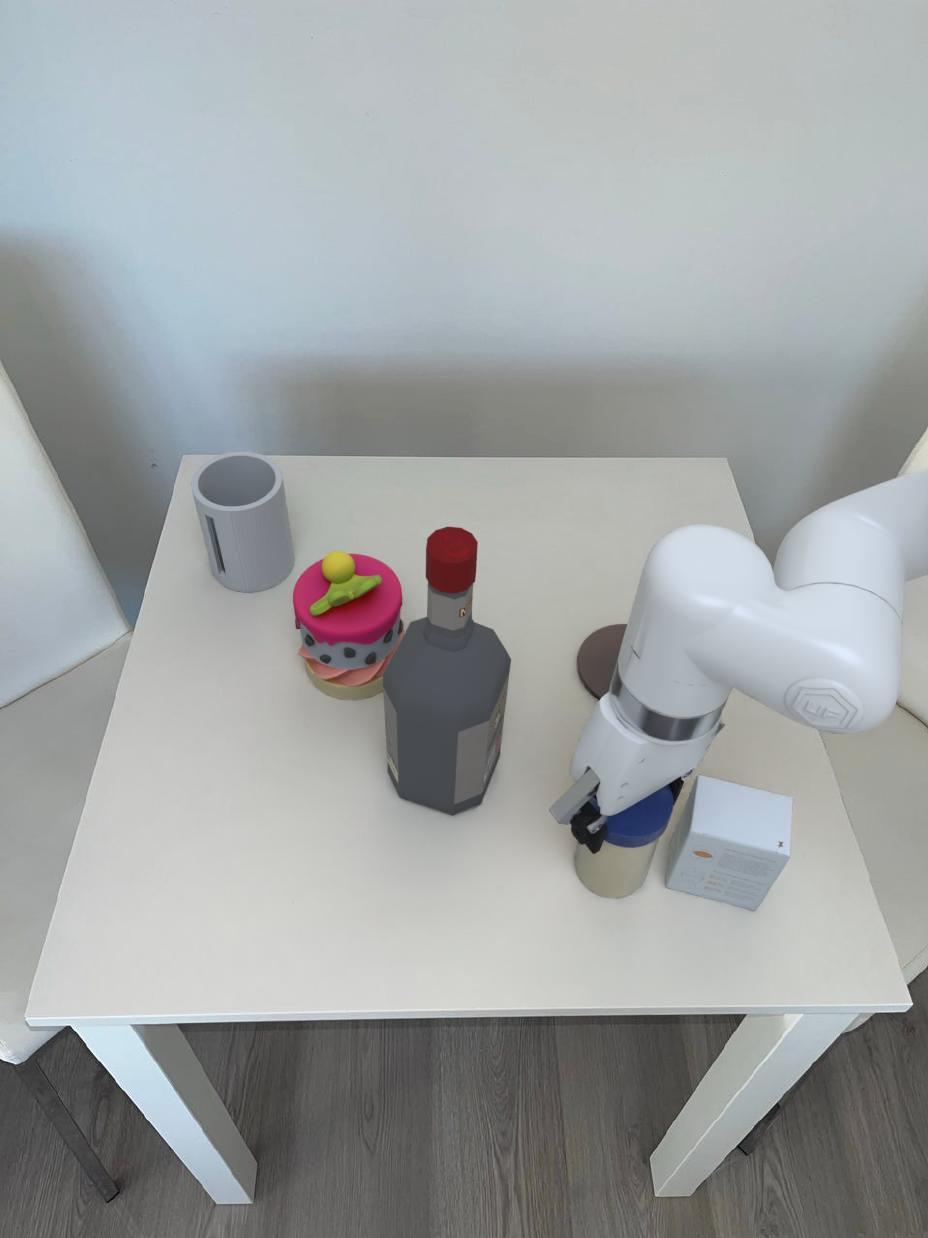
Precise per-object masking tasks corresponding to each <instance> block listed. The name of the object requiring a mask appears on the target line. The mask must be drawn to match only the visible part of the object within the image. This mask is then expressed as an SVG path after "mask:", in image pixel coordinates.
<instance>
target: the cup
mask: <svg viewBox="0 0 928 1238" xmlns="http://www.w3.org/2000/svg"><path fill="white" fill-rule="evenodd" d="M190 488H191V493H192V496H193V500H194V505H195V508H196V512H197V517H198V521H199V524H200V528H201V533H202V537H203V540H204V541H203V542H204V545H205V549H206V553H207V557H208V561H209V566H210V569H211V573H212V576H213V577H214V579H215V580H216V581H217V582H218V583H219V584H220V585H221V586H223V587H225V588H227V589H229V590H232V591H235V592H240V593H258V592H263V591H266V590H270V589H271V588H274V587H276V586H278V585H280V584H281V583H282V582H283V581H285V580H286V579H287V578H288V576H289V575H290V574H291V572H292V570H293V568H294V565H295V559H296V558H295V553H294V552H295V551H294V546H293V545H294V544H293V540H292V539H293V538H292V532H291V526H290V518H289V512H288V506H287V498H286V497H287V496H286V492H285V491H286V490H285V485H284V477H283V472H282V469H281V468H280V466H279V465H278V463H276V462H275V461H274V460H273V459H272V458H270V457H268V456H266V455H264V454H260V453H258V452H253V451H244V450H243V451H238V450H237V451H231V452H226V453H222V454H219V455H216V456H214V457H212V458H209V459H207V460H206V461H204V463H202V464H201V465H200V466H199V467H198V468H197V469H196V471H195V472H194V473H193V476H192V478H191V482H190ZM220 557H221V558H222V562H223V567H224V570H225V571H224V570H223V568H222V564H221V560H220Z"/></svg>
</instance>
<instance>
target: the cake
mask: <svg viewBox="0 0 928 1238" xmlns="http://www.w3.org/2000/svg"><path fill="white" fill-rule="evenodd" d="M292 603H293V610H294V617H295V619H294V625H295V629H296V630H299V631H300V637H301V642H302V645H301V646H300V648H299V649H298V653H297V655H298V656H300V657H301V658H303V659H304V663H305V669H306V674H307V677H308V678H309V680H310V682H311V683H312V685H313V686H314V687H315V688H316V689H317V690H319V691H320V692H322V693H323V694H325V696H329V697H330V698H331V697H332V698H335V699H338V700H344V701H359V700H364V699H369V698H372V697H374V696H376V695H379V694H381V693H384V688H383V674H384V672H385V670H386V668H387V666H388V664H389V662H390V660H391V659H392V657H393V655H394V653H395V651H396V649H397V647H398V645H399V643H400V641H401V640H402V638H403V636H404V634H405V623H404V621H403V619H402V617H401V610H402V607H403V588H402V584H401V581H400V579H399V577H398V576H397V574H396V573H395V571H394V570H393V569H392V568H391V567H390V566H388V565H387V564H386V563H384V562H383V561H381V560H379V559H378V558H375V557H372V556H370V555H365V554H361V553H348V552H346V551H344V550H333V551H330V552H329V553H327V554H326V556H324V557H323V558H321V559H320V560H317V561H316V562H314V563H312V564H311V565H310V566H309V567H307V568H306V569H305V570H304V571H303V572H302V574H301V575H300V576H299V577H298V579H297V581H296V582H295V585H294V588H293V591H292Z"/></svg>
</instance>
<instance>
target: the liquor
mask: <svg viewBox="0 0 928 1238" xmlns="http://www.w3.org/2000/svg"><path fill="white" fill-rule="evenodd" d="M426 540H427V541H426V546H425V578H426V581H427V597H426V598H427V600H426V602H427V603H426V605H427V606H426V616H425V617H422V618H418V619H416V620H413V621H410V623H409V624H408V626H407V628H406V629H405V631H404V636H403V638H402V640H401V641H400V643H399V645H398V647H397V649H396V651H395V653H394V655H393V657H392V659H391V660H390V662H389V664H388V666H387V668H386V670H385V672H384V674H383V688H384V691H383V705H384V708H383V709H384V726H385V740H386V742H385V745H386V763H387V764H386V765H387V774H388V776H389V778H390V780H391V783H392V784H393V786H394V789H395V791H396V793H397V796H398V797H399V798H401V799H404V800H407V801H410V802H412V803H415V804H418V805H421V806H425V807H427V808H430V809H433V810H435V811H439V812H441V813H445V814H448V815H450V816H455V815H458V814H460V813H462V812H465V811H468V810H470V809H472V808H475V807H478V806H481V805H482V803H483V800H484V797H485V795H486V792H487V790H488V787H489V785H490V782H491V780H492V777H493V775H494V772H495V770H496V767H497V764H498V762H499V760H500V757H501V755H500V754H501V749H502V748H501V747H502V739H503V731H504V723H505V713H506V705H507V699H508V690H509V680H510V674H511V664H512V658H511V657H510V654H509V653H508V650H507V649H506V647H505V646H504V644H503V643H502V641H501V639H500V637H499V636H498V635H497V633H496V631H495V630H494V628H490V627H488V626H485V625H484V624H480V623H478V622H475V621H474V620H473V598H474V583H476V577H477V565H478V564H477V563H478V546H479V545H478V544H479V542H478V540H477V538H476V537H475V535H474V534H473V533H472V532H470V531H468V530H467V529H464V528H463V527H456V526H444V527H442V528H438V529H435V530H434V531H433V532H432V533H431V534H430V535H429V536H428V537H427V539H426Z"/></svg>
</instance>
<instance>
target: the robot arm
mask: <svg viewBox="0 0 928 1238" xmlns="http://www.w3.org/2000/svg"><path fill="white" fill-rule="evenodd" d="M924 576H928V468H927V469H922V470H918V471H913V472H911V473H907V474H903V475H900V476H897V477H894V478H892V479H889V480H887V481H886V480H885V481H883V482H880V483H879V484H875V485H873V486H870V487H867V488H865V489H862V490H859V491H856V492H854V493H851V494H849V495H846V496H844V497H841V498H839V499H836V500H834V501H831V502H830V503H828V504H825V505H823V506H821V507H819V508H817V509H816V510H814V511H813V512H811V513H809V514H807V515H806V516H805V517H803V518H802V519H801V520H799V521H798V522H797V523H796V524H795V525H794V526H793V527H792V528H790V530H789V531H788V532H787V533H786V535H784V538H783V540H782V542H781V543H780V545H779V548H778V550H777V552H776V557H775V560H774V565H773V567H772V565H771V563H770V560H769V559H768V558H767V556H766V554H765V553H764V551H763V550H762V549H761V548H760V547H759V546H758V545H757V544H756V543H755V542H754V541H752V540H751V538H748V537H747V536H745V535H743V534H741V533H739V532H738V531H735V530H734V529H730V528H727V527H725V526H720V525H715V524H708V523H707V524H706V523H697V524H695V523H694V524H689V525H684V526H680V527H678V528H675V529H672V530H671V531H669V532H667V533H666V534H664V535H663V536H662V537H661V538H659V539H658V540H657V541H656V543H654V544H653V546H652V547H651V549H650V551H649V552H648V554H647V557H646V559H645V562H644V565H643V567H642V570H641V575H640V577H639V580H638V585H637V588H636V592H635V595H634V599H633V602H632V606H631V610H630V614H629V617H628V621H627V623H626V624H627V627H626V631H625V634H624V638H623V641H622V645H621V648H620V652H619V656H618V659H617V663H616V666H615V670H614V673H613V677H612V680H611V684H610V690H609V692H608V693H606V694H605V695H604V696H603V697H602V698H601V699H600V700H598V702H597V703H596V704H595V706H594V707H593V709H592V711H591V713H590V714H589V716H588V718H587V720H586V722H585V724H584V726H583V728H582V731H581V733H580V736H579V738H578V740H577V743H576V745H575V748H574V751H573V753H572V757H571V760H570V763H569V769H568V775H569V776H570V778H571V779H572V781H573V782H574V783H573V784H572V785H571V786H570V787H569V788H568V789H567V790H566V791H565V792H564V793H563V794H562V795H561V796H560V797H559V798H558V799H556V801H555V802H554V803H553V804H552V805H550V807H549V808H548V811H549V813H550V814H551V816H552V817H553V818H554V819H555V821H556V822H557V823H558V824H560V825H567V826H568V825H570V832H571V834H572V836H573V837H574V839H575V840H576V841H577V843H578V842H579V843H580V844H581V845H583V844H585V845H586V846H587V847H588V849H589V850H590V851H591V852H592V853H593V854H595V853H597V852H599V851H600V849H601V846H602V843H603V840H604V838H605V835H606V832H607V829H608V828H607V825H606V824H605V822H606V821H607V820H608V819H609V817H610V816H611V815H615V814H617V813H619V812H621V811H623V810H625V809H627V808H628V807H630V806H632V805H634V804H635V803H637V802H639V801H640V800H642V799H644V798H646V797H647V796H649V795H651V794H652V793H654V792H656V791H657V790H659V789H661V788H662V787H664V786H666V785H667V784H668V785H669V787H670V789H671V791H672V795H673V807H674V806H675V805H676V802H678V801H677V800H678V798H679V796H680V793H681V792H682V790H683V787H684V785H685V781H684V780H685V779H687V778H688V777H689V776H691V774H693V773H694V771H695V769H694V768H695V767H697V766H698V765H699V764H700V763H701V762H702V761H703V760H704V758H705V757H706V755H707V753H708V751H709V749H710V748H711V745H712V743H713V741H714V738H715V737H716V736H717V735H718V734H719V733H720V732H721V731H722V730H723V729H724V728H725V726H726V724H725V723H724V721H723V720H722V719H721V718H722V714H723V711H724V708H725V706H726V704H727V702H728V700H729V698H730V695H731V694H732V691H733V689H735V691H738V692H740V693H742V694H743V695H746V696H747V697H749V698H750V699H753V700H755V701H756V702H758V703H759V704H762V705H763V706H765V707H766V708H768V709H770V710H772V711H773V712H776V713H777V714H780V715H782V716H783V717H785V718H787V719H789V720H791V721H793V722H795V723H797V724H800V725H802V726H805V727H807V728H810V729H813V730H817V731H820V732H822V733H823V732H824V733H829V734H833V735H834V734H835V735H854V734H855V735H856V734H860V733H865V732H868V731H870V730H872V729H875V728H876V727H878V726H880V725H881V724H882V723H884V722H885V721H886V720H887V718H888V717H889V716H890V714H891V713H892V712H893V710H894V708H895V706H896V704H897V702H898V698H899V693H900V687H901V681H902V678H901V676H902V657H903V655H902V654H903V635H904V614H905V592H906V591H905V589H906V583H907V582H910V581H913V580H916V579H919V578H922V577H924ZM593 796H594V798H595V799H596V800H597V802H598V806H599V807H600V810H599V811H598V812H597V810H596V809H595V808H594V806H593V805H592V804H591V803H590V801H588V800H589V799H590V798H591V797H593Z"/></svg>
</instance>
